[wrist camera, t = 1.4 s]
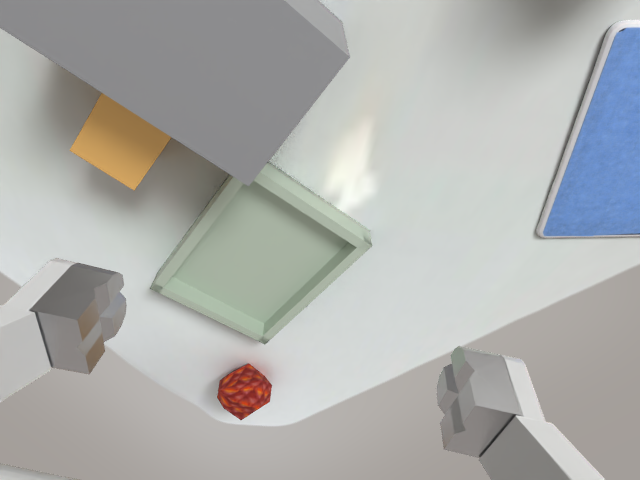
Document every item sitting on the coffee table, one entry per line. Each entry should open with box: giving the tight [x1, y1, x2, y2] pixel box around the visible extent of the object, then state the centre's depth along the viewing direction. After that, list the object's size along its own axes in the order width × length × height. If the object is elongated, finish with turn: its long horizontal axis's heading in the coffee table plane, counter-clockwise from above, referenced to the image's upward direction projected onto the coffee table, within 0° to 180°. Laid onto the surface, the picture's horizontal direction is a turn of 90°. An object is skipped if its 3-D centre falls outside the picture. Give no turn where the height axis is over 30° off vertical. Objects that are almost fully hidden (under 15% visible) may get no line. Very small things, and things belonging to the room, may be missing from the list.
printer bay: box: [0, 0, 350, 186], centre depth 26 cm, size 16×10×10 cm, turn 52°
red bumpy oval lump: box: [217, 364, 272, 420], centre depth 53 cm, size 6×7×8 cm
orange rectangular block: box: [70, 93, 172, 190], centre depth 31 cm, size 5×13×6 cm, turn 139°
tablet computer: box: [536, 20, 640, 238], centre depth 36 cm, size 19×13×1 cm, turn 1°
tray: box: [150, 162, 372, 344], centre depth 42 cm, size 14×18×2 cm
